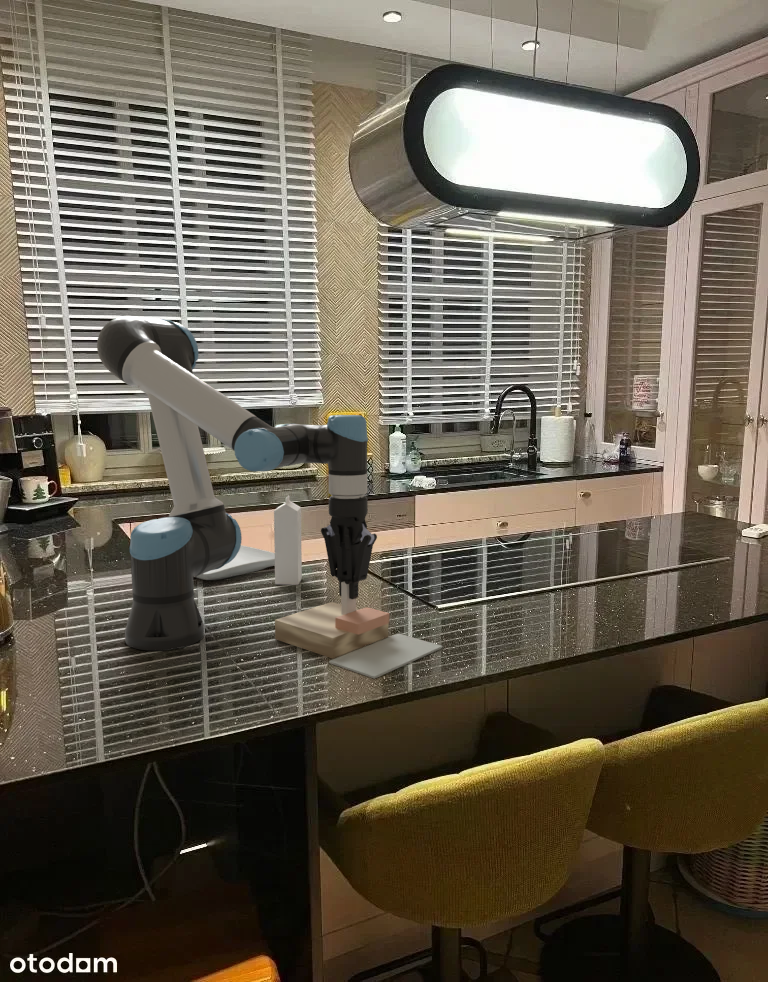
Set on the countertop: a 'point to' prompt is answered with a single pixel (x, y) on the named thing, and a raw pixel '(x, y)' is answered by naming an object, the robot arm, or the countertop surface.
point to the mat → (385, 655)
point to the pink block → (362, 620)
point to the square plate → (242, 564)
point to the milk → (288, 543)
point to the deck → (323, 632)
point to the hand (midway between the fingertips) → (348, 613)
